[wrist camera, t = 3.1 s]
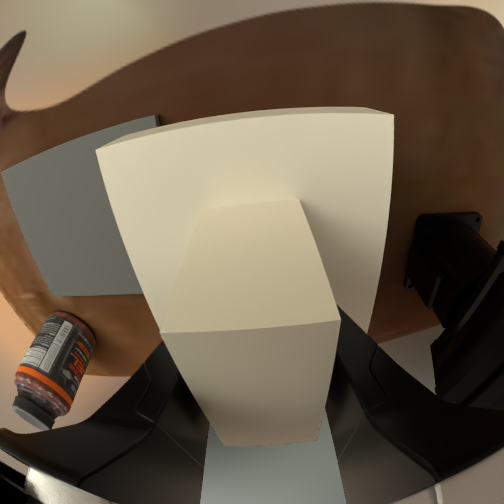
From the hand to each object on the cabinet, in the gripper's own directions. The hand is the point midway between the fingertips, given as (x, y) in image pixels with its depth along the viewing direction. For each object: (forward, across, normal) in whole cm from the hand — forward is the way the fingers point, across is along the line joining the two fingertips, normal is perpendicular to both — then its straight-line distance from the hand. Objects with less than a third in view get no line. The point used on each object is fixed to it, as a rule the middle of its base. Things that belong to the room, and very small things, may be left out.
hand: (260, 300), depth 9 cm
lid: (+4, 0, 0) cm, 4 cm away
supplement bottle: (+9, +20, +11) cm, 24 cm away
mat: (+9, +12, 0) cm, 15 cm away
